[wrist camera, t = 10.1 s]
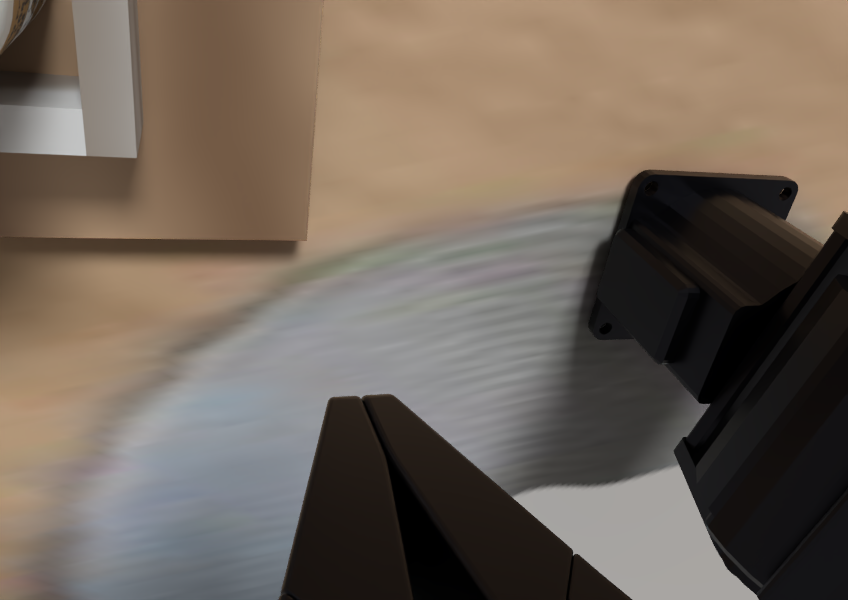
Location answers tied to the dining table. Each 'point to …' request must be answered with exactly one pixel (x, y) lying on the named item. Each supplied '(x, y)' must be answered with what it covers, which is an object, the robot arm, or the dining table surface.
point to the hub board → (160, 120)
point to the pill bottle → (16, 18)
